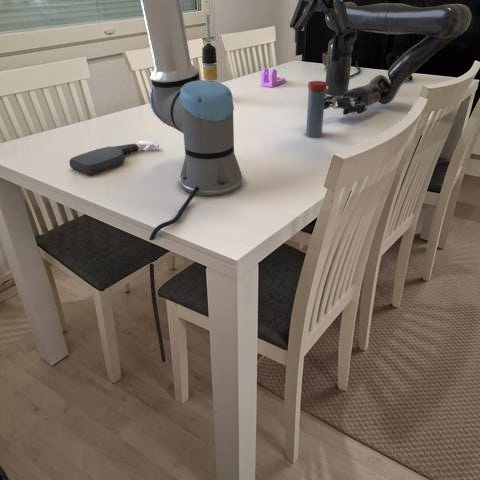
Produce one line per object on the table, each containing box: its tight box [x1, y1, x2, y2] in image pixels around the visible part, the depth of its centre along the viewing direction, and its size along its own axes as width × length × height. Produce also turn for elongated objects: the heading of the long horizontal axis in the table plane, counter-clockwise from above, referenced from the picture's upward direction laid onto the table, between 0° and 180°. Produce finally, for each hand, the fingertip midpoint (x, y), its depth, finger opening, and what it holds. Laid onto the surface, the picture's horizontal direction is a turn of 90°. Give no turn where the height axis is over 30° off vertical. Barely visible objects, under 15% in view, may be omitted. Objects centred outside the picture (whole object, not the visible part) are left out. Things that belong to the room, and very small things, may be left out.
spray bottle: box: [68, 139, 160, 177], centre depth 124 cm, size 3×11×24 cm
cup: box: [322, 51, 328, 71], centre depth 219 cm, size 8×7×8 cm
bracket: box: [260, 67, 286, 88], centre depth 197 cm, size 13×6×7 cm, turn 143°
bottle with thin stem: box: [201, 14, 218, 82], centre depth 171 cm, size 6×6×30 cm
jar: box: [305, 89, 326, 138], centre depth 136 cm, size 5×5×15 cm
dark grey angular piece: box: [385, 51, 414, 81], centre depth 198 cm, size 11×10×15 cm
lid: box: [307, 80, 327, 91], centre depth 132 cm, size 5×5×2 cm
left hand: (316, 57), depth 128 cm, fingers open, 13 cm apart
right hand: (332, 109), depth 142 cm, fingers open, 8 cm apart
